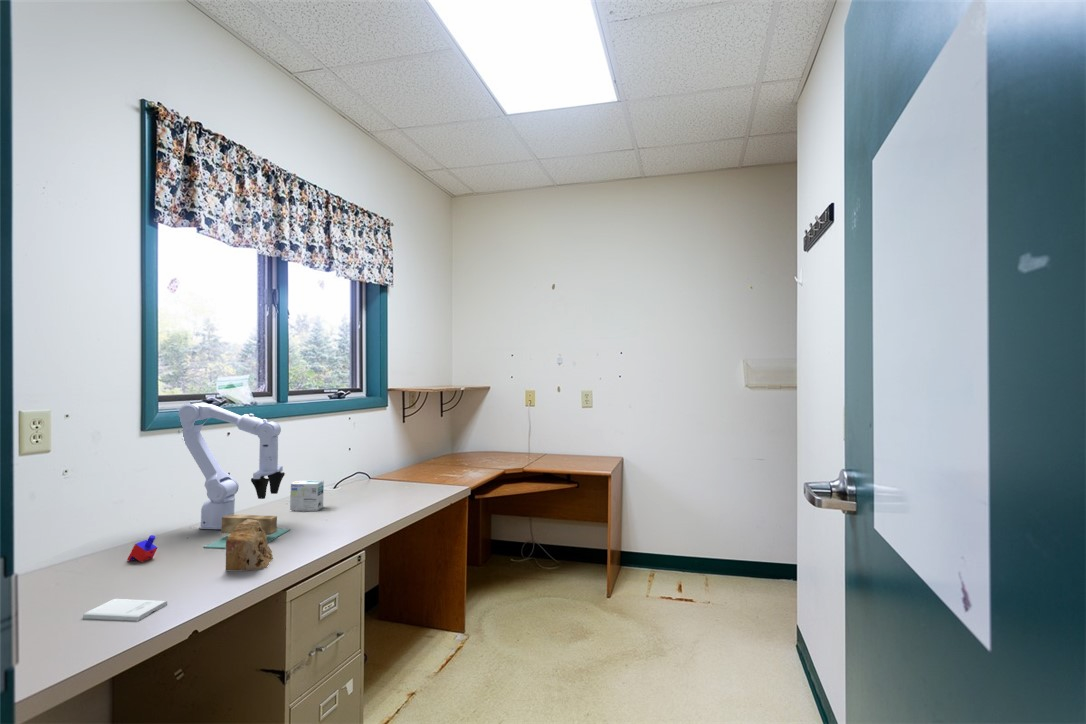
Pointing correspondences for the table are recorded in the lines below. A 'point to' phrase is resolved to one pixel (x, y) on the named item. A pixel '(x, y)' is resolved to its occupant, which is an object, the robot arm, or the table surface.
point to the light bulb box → (306, 495)
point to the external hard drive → (124, 609)
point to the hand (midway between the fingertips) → (268, 496)
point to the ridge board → (222, 542)
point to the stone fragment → (247, 547)
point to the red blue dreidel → (143, 550)
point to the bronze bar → (233, 520)
